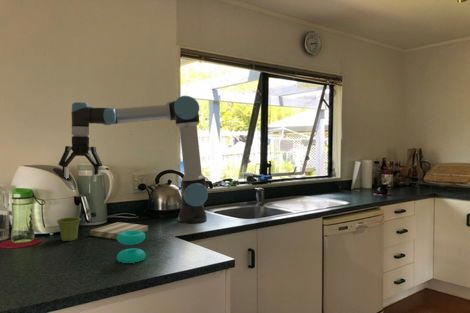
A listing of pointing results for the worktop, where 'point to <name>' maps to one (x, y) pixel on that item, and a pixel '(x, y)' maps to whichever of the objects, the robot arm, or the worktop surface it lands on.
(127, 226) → the striped wooden cutting board
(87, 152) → the robot arm
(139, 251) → the donuts
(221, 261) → the worktop surface
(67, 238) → the plant pot
